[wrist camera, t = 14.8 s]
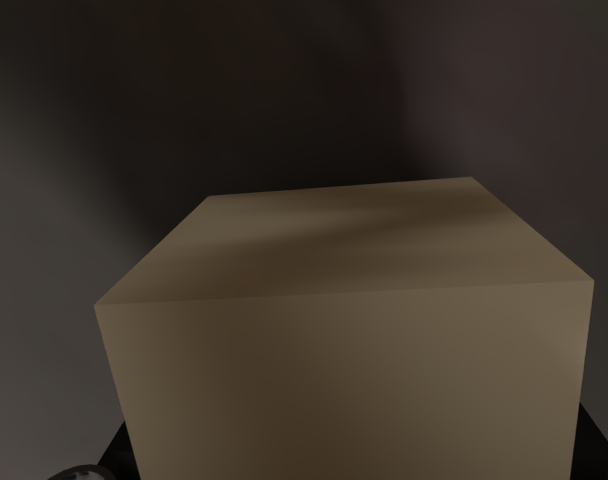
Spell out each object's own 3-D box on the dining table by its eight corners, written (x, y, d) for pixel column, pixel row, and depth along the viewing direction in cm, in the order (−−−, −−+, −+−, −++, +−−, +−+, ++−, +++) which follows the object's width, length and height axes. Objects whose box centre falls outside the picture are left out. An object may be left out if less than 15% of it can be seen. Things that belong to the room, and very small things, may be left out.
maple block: (471, 177, 10) (594, 281, 5) (464, 448, 12) (542, 694, 7) (208, 195, 10) (93, 305, 5) (251, 451, 12) (196, 682, 8)
